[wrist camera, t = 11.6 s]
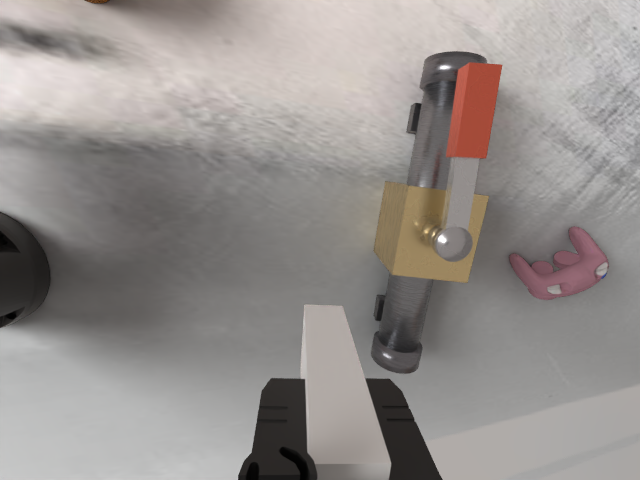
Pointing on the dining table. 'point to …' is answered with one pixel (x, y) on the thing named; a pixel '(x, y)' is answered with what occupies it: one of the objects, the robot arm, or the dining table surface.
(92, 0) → the disposable coffee cup
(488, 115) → the lever
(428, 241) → the valve pipe
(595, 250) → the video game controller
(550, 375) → the dining table surface
